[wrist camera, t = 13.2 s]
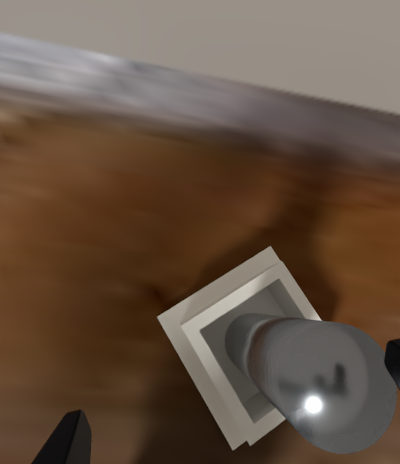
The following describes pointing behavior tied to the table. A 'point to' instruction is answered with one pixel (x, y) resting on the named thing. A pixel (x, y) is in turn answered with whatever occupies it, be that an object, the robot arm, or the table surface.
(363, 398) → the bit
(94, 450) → the table surface
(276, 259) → the socket
